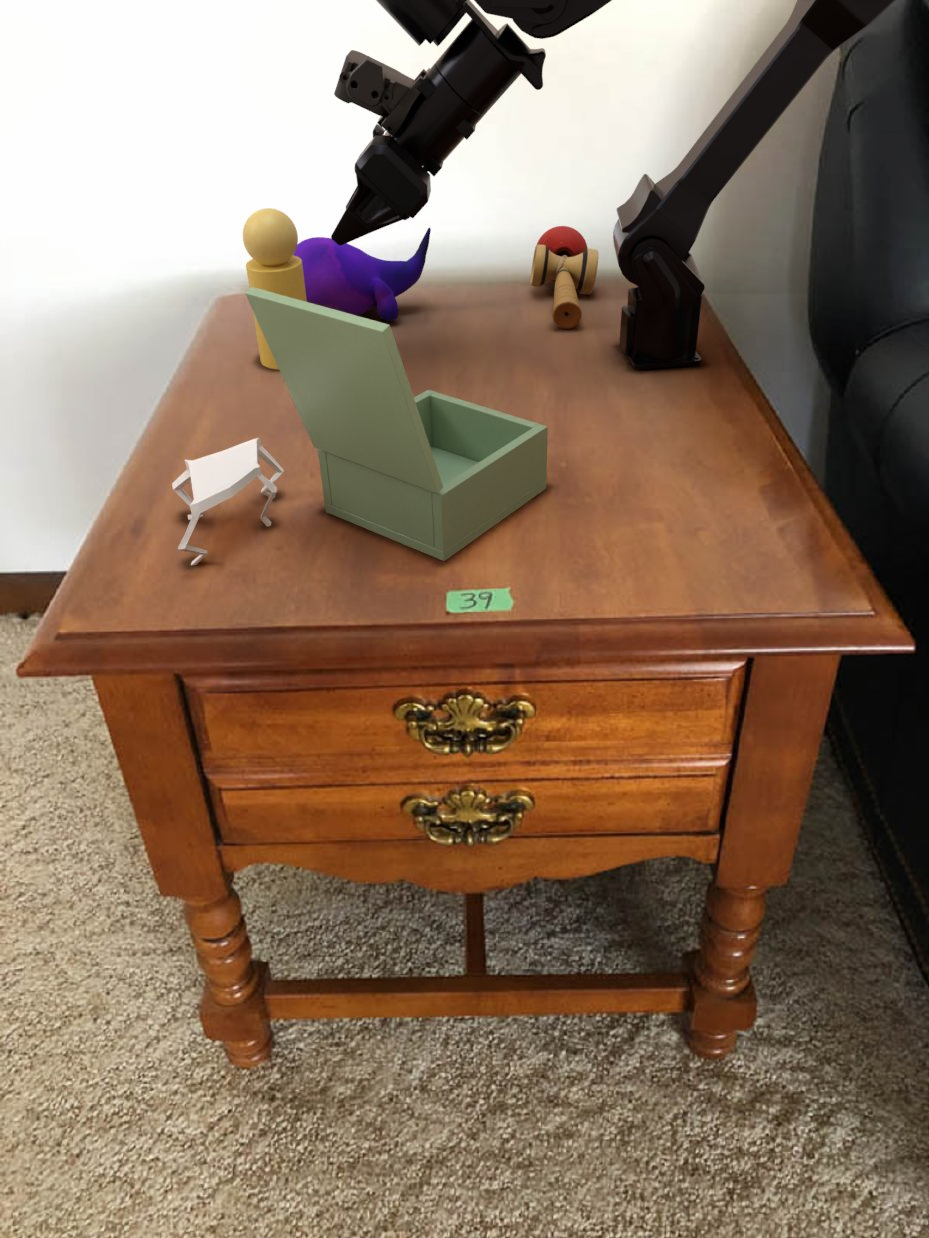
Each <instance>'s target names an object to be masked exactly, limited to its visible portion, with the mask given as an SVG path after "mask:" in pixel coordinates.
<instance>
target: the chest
mask: <svg viewBox="0 0 929 1238" xmlns="http://www.w3.org/2000/svg"><path fill="white" fill-rule="evenodd" d="M413 397H414V400H415V403H416V406H417V409H418V412H419V415H420V418H421V421H422V424H423V427H424V430H425V433H426V436H427V439H428V442H429V445H430V448H431V451H432V454H433V457H434V460H435V463H436V466H437V469H438V472H439V475H440V478H441V481H442V484H443V488H442V489H441V490H440V491H439V492H438V493H435V492H432V491H429V490H427V489H424V488H421V487H419V486H416V485H413V484H411V483H408V482H405V481H403V480H400V479H397V478H395V477H392V476H389V475H387V474H384V473H381V472H379V471H376V470H373V469H371V468H368V467H365V466H363V465H360V464H357V463H355V462H352V461H349V460H347V459H344V458H341V457H339V456H336V455H333V454H331V453H328V452H325V451H323V450H320V449H317V454H318V462H319V469H320V479H321V486H322V494H323V502H324V509H325V512H326V514H329V515H332V516H334V517H337V518H339V519H341V520H344V521H346V522H349V523H351V524H353V525H356V526H358V527H361V528H363V529H366V530H368V531H371V532H373V533H375V534H377V535H379V536H383V537H385V538H387V539H389V540H392V541H394V542H397V543H399V544H402V545H404V546H406V547H409V548H412V549H413V550H416V551H418V552H421V553H423V554H425V555H428V556H430V557H432V558H435V559H437V560H440V561H442V562H445V561H447V560H448V559H450V558H451V557H452V556H454V555H455V554H457V553H458V552H460V551H461V550H462V549H463V548H465V547H466V546H468V545H469V544H471V543H472V542H474V541H475V540H476V539H478V538H479V537H480V536H482V535H483V534H485V533H486V532H487V531H489V530H490V529H492V528H493V527H494V526H496V525H498V524H499V523H500V522H501V521H503V520H504V519H505V518H507V517H508V516H510V515H511V514H513V513H514V512H516V511H517V510H518V509H519V508H521V507H523V506H524V505H525V504H527V503H528V502H530V501H531V500H533V499H534V498H535V497H536V496H538V495H539V494H541V493H543V492H544V490H546V489H547V479H548V477H547V476H548V475H547V474H548V473H547V472H548V433H549V432H548V428H549V427H548V426H547V425H544V424H541V423H537V422H536V421H535V422H534V421H531V420H529V419H525V418H522V417H518V416H516V415H512V414H508V413H505V412H502V411H499V410H496V409H492V408H489V407H486V406H484V405H483V406H482V405H479V404H476V403H474V402H470V401H466V400H464V399H460V398H457V397H454V396H451V395H447V394H444V393H441V392H438V391H434V390H431V389H427V390H424V391H423V392H421V393H419V394H417V395H416V396H413Z"/></svg>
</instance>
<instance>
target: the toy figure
mask: <svg viewBox="0 0 929 1238" xmlns="http://www.w3.org/2000/svg"><path fill="white" fill-rule="evenodd" d="M242 242H243V246H244V248H245V250H246V252H247V254H248V255H249V256H250V257H251V258H252V259H250V260H248V261H247V262H246V263H245V269H246V276H247V281H248V282H247V283H248V290H249V289H250V288H251V287H254V288H258V289H261V290H265V291H269V292H272V293H276V294H280V295H283V296H287V297H290V298H294V299H298V300H301V301H305V302H307V298H306V290H305V282H304V274H303V266H302V260H301V258H299V257H297V256H294V255H293V254H294V253H295V251H296V248H297V244H299V235H298V230H297V228H296V226H295V223H294V222H293V220H292V219H291V218H290V217H289V216H288V215H287V214H286V213H285V212H283V211H282V210H280V209H276V208H272V207H270V208H269V207H265V208H261V209H258V210H256V211H254V212H253V213H251V214H250V216H249V217H248V218H247V219H246V221H245V222H244V226H243V230H242ZM252 313H253V321H254V327H255V333H256V339H257V347H258V352H259V358H260V363H261V365H262V366H263V367H265V368H267V369H271V370H275V371H276V370H277V371H280V370H279V368H278V366H277V364H276V361H275V359H274V357H273V355H272V352H271V350H270V348H269V346H268V343H267V341H266V339H265V337H264V335H263V332H262V330H261V328H260V326H259V323H258V321H257V319H256V317H255V314H254V312H253V311H252Z"/></svg>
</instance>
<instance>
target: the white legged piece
mask: <svg viewBox="0 0 929 1238" xmlns="http://www.w3.org/2000/svg"><path fill="white" fill-rule="evenodd" d="M260 459H262V460H263V461H264V462H265V463H266V464H268V465H269V466H270V467H271V469H273V470H274V471H275V473H273V475H272V476H271V478H270V479H268V478H267V477H266V476H265V475H263V473H262V469H261V466H260ZM184 463H185V467H186V468H185V470H184V471H183V472H182V474H180V475H179V476H178V477H177V478H175V480H174V481H173V482H172V483H171V486H172V490H173V491H174V492H175V494H176V495H178V497H179V498H181V499H182V501H184V503H185V504H187V506H188V507H189V509H190V514H187V519H188V521H189V523H188V525H187V528H186V530H185V532H184V534H183V537H182V539H181V540H180V542H179V544H178V546H177V550H178V551H183V552H187V553H192V554H197V555H198V556H197V557H195V558H194V559H193V560H192V561H191V563H190V566H196V565H198V564H199V563H200V562H201V561H202V560H203V559H204V558H205V556H206V555H208V550H206V549H203V548H200V547H196V546H193V545H190V544H188V543H189V541H190V538H191V536H192V534H193V531H194V530H195V528H196V526H197V524H198V522H199V521H200V520H199V519H200V518H203V517H204V513H203V512H205V511H207V510H209V509H212V508H214V507H215V506H217V505H219V504H221V503H223V502H225V501H228V500H229V499H231V498H233V497H234V496H235V495H237V494H238V493H240V491H242V490H243V489H244V488H246V486H248V485H249V484H250V483H252V481H253V480H255V479H256V478H258V479H259V481H261V482H262V484H263V485H264V486H263V487H262V489H261V490H260V493H261V494H262V495H264V496H265V497H268V498H267V500H266V503H265V505H264V507H263V510H262V512H261V515H260V520H261V521H262V522H263V524H264V525H265V526H266V527H271V526H272V521H271V520H270V519H269V518H268V517H267V516H266V513H267V511H268V509H269V507H271V504H272V502H273V500H274V499H276V495H277V493H278V487H277V486H276V485H275V484H274V483H275V482H276V481H277V479H279V478H280V477H281V475H283V473H284V471H285V469H284V468H283V467H282V465H280V464H279V463H278V462H277V460H276V459H275V458H274V457H273V456H272V455H271V454H270V452H268V451H267V449H265V447H263V445H262V442H261V438H260V437H257V438H253V439H250V440H247V441H244V442H242V443H239V444H236V445H234V446H231V447H229V448H226V449H224V450H220V451H217V452H214V453H212V454H208V455H204V456H202V457H199V458H196V459H184ZM189 483H191V489H192V496H193V499H192V498H191V496H190V495H189V494H188V493H187V492H186V490H185V489H184V487H186V486H187V485H188V484H189ZM268 490H269V491H268Z"/></svg>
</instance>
